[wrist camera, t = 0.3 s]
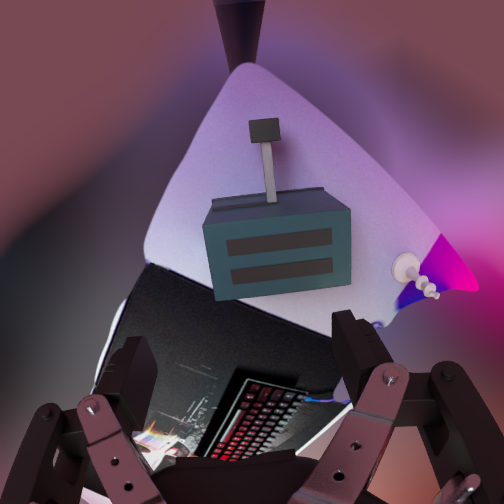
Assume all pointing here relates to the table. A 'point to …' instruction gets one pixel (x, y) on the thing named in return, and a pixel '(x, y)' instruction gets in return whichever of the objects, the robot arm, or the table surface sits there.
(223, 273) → the toaster
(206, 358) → the table surface
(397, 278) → the chess piece
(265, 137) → the slider
